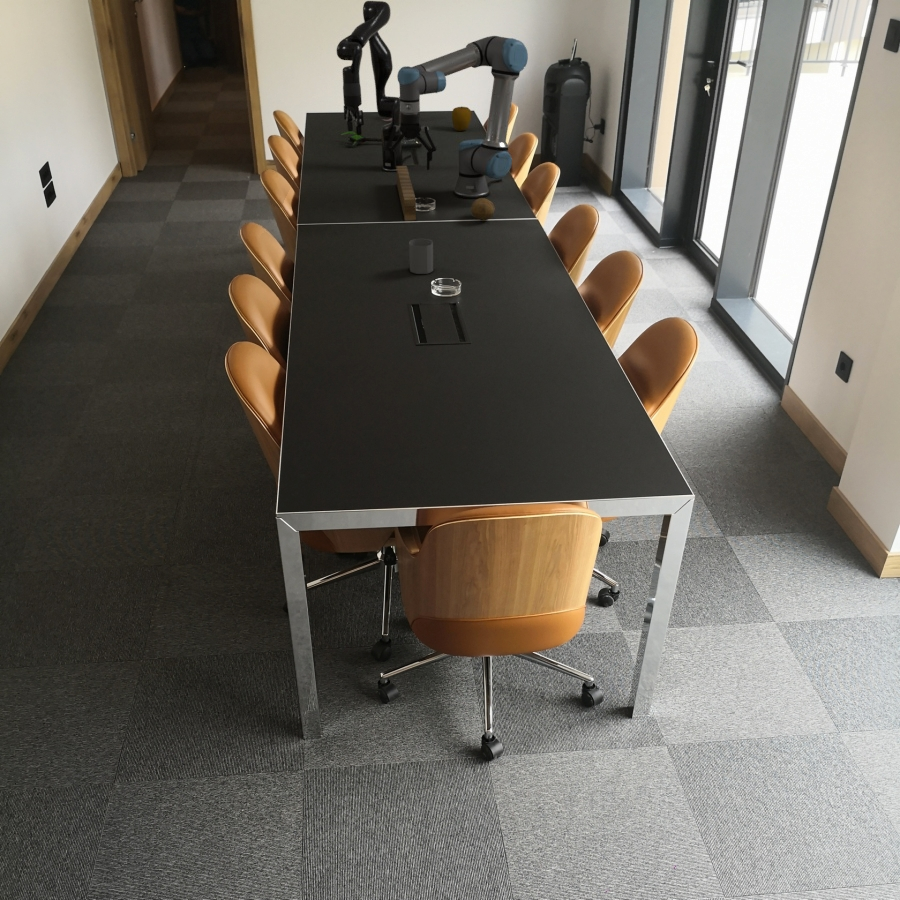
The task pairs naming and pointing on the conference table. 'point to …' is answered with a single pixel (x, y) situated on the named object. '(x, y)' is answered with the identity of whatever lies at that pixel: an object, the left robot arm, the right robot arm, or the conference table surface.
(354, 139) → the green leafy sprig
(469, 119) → the apple
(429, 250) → the cup
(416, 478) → the conference table surface
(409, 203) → the post
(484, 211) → the potato
